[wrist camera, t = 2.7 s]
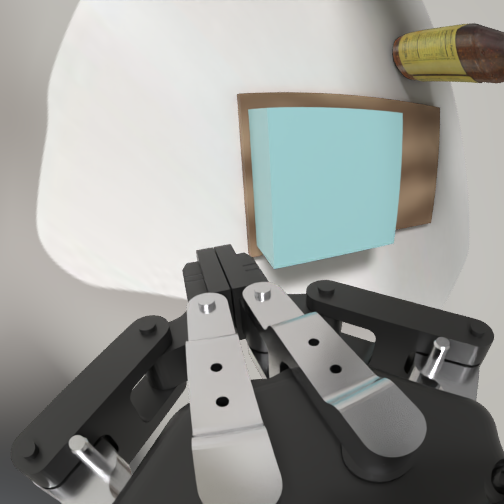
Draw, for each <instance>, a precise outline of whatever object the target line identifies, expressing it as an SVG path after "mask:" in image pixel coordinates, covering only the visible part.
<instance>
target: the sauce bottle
mask: <svg viewBox="0 0 504 504" xmlns="http://www.w3.org/2000/svg"><path fill="white" fill-rule="evenodd" d="M393 59H394V62H395V64H396V66H397V67H398V69H399V70H400V72H401V73H402V74H403V75H404V76H405V77H406V78H408V79H411V80H418V81H423V82H425V81H452V82H454V81H455V82H474V83H482V82H488V83H489V82H490V83H501V82H504V32H501V31H498V30H495V29H492V28H488V27H485V26H482V25H479V24H462V25H454V26H447V27H440V28H433V29H427V30H421V31H416V32H411V33H407V34H405V35H404V36H401V37H399V38H398V39H397V40H396V41H395V42H394V45H393Z"/></svg>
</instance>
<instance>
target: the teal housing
mask: <svg viewBox="0 0 504 504" xmlns="http://www.w3.org/2000/svg"><path fill="white" fill-rule="evenodd" d="M248 114H249V129H250V145H251V160H252V176H253V192H254V208H255V224H256V240H257V246H258V248H259V249H260V250H261V252H262V253H263V255H264V256H265V257H266V259H267V260H268V261H269V263H270V264H271V266H272V267H273V268H274V269H277V268H282V267H287V266H292V265H297V264H301V263H306V262H311V261H316V260H320V259H325V258H330V257H334V256H339V255H344V254H348V253H353V252H358V251H362V250H367V249H371V248H376V247H380V246H385V245H389V244H393V243H394V237H395V229H396V221H397V212H398V202H399V191H400V179H401V162H402V134H403V113H398V112H389V111H378V110H366V109H350V108H326V107H278V108H258V109H248Z"/></svg>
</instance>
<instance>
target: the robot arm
mask: <svg viewBox="0 0 504 504" xmlns="http://www.w3.org/2000/svg"><path fill="white" fill-rule="evenodd" d="M196 254H197V260H198V261H197V262H192V263H187V264H186V265H185V267H184V268H183V276H184V282H185V288H186V293H187V299H188V304H187V311H186V312H185V313H184V314H183V315H182V316H181V317H179V318H177V319H175V320H173V321H171V322H168V321H167V320H166V319H165V318H163V317H161V316H155V315H153V316H145V317H142V318H140V319H138V320H136V321H135V322H133V323H132V324H131V325H130V326H129V327H128V328H127V329H126V330H125V331H124V332H123V333H122V334H120V335H119V336H118V338H116V339H115V340H114V341H113V342H112V343H111V344H110V345H109V346H108V347H107V348H106V349H105V350H104V351H103V352H102V353H101V354H100V355H99V356H98V357H97V358H96V359H95V360H93V361H92V362H91V363H90V364H89V365H88V366H87V367H86V368H85V369H84V370H83V371H82V372H81V373H80V374H79V375H78V376H77V377H76V378H75V379H74V380H73V381H72V382H71V383H70V384H69V385H68V386H67V387H66V388H65V389H64V390H63V391H62V392H61V393H60V394H59V395H58V396H57V397H56V398H55V399H54V400H53V401H52V402H51V403H50V404H49V405H48V406H47V407H46V408H45V409H44V410H43V411H42V412H41V413H40V414H39V415H38V416H37V417H36V418H35V419H34V420H33V421H32V422H31V423H30V425H29V426H28V427H27V428H26V429H25V430H24V431H23V432H22V433H21V434H20V435H19V436H18V437H17V438H16V439H15V441H14V443H13V445H12V448H11V460H12V462H13V464H14V466H15V467H16V468H17V469H18V470H19V471H20V472H21V473H23V474H24V475H25V476H26V477H28V478H29V479H30V480H32V481H33V483H35V485H37V486H38V487H39V488H41V489H42V490H44V491H45V492H47V493H48V494H49V495H51V496H53V497H54V498H55V499H57V500H59V501H60V502H61V503H62V504H504V451H503V449H502V446H501V444H500V441H499V437H498V433H497V429H496V425H495V422H494V420H493V418H492V416H491V414H490V413H489V412H488V411H487V409H486V408H485V407H484V406H482V405H481V404H480V403H478V402H476V398H477V397H476V396H477V389H478V379H479V367H480V365H481V363H482V361H483V360H484V358H485V356H486V354H487V352H488V350H489V348H490V346H491V344H492V342H493V340H494V334H493V331H492V329H491V328H490V327H489V326H488V325H487V324H486V323H484V322H482V321H480V320H477V319H473V318H470V317H466V316H462V315H458V314H454V313H451V312H447V311H443V310H439V309H435V308H432V307H428V306H424V305H420V304H417V303H413V302H409V301H405V300H402V299H398V298H394V297H390V296H387V295H383V294H379V293H375V292H372V291H368V290H364V289H361V288H357V287H353V286H349V285H346V284H342V283H338V282H335V281H330V280H320V281H316V282H313V283H311V284H310V285H309V286H308V287H307V291H306V294H286V293H285V292H284V291H283V289H282V288H281V287H280V286H278V285H277V284H274V283H270V282H268V280H267V279H266V277H265V276H264V274H263V273H262V271H261V270H260V269H259V266H258V265H257V264H256V262H255V260H254V259H253V257H251V256H249V255H248V254H246V253H240V254H236V253H235V251H234V250H233V248H232V246H231V244H229V245H223V246H217V247H214V249H213V247H212V248H207V249H201V250H196ZM342 322H346V323H349V324H352V325H355V326H359V327H362V328H365V329H368V330H370V331H372V332H373V333H374V335H375V336H376V341H375V342H370V341H367V340H363V339H360V338H357V337H354V336H351V335H348V334H344V333H341V327H342ZM242 339H246V340H247V343H248V352H249V355H250V357H251V359H252V361H253V362H254V364H255V366H256V368H257V370H258V372H259V373H260V375H261V377H262V379H256V380H250V377H249V373H248V369H247V366H246V362H245V359H244V355H243V351H242V347H241V344H240V340H242ZM144 375H145V376H144ZM143 376H144V378H143V379H142V380H141V381H140V379H141V378H142V377H143ZM139 381H140V382H139ZM186 381H188V387H189V400H190V403H188V404H187V405H185V406H184V407H183V408H181V409H180V410H179V411H178V412H177V413H175V415H174V416H173V417H172V418H171V419H170V420H169V422H168V423H167V425H166V426H165V428H164V429H163V431H162V432H161V434H160V435H159V437H158V438H157V440H156V441H155V443H154V444H153V446H152V447H151V448H150V450H149V451H148V453H147V454H146V456H145V457H144V459H143V460H142V462H141V463H140V465H139V466H138V468H137V469H136V471H135V472H134V473H133V475H132V473H131V469H130V466H129V464H130V462H131V461H132V460H133V458H134V457H135V456H136V454H137V453H138V452H139V450H140V449H141V448H142V446H143V445H144V444H145V442H146V441H147V440H148V438H149V437H150V436H151V434H152V433H153V432H154V430H155V429H156V428H157V426H158V425H159V424H160V422H161V421H162V420H163V418H164V417H165V415H166V414H167V413H168V412H169V410H170V409H171V408H172V406H173V405H174V403H175V402H176V401H177V399H178V398H179V397H180V395H181V394H182V393H183V391H184V389H185V388H186ZM138 382H139V383H138ZM137 383H138V385H137V386H136V387H135V388H134V386H135V385H136V384H137ZM133 388H134V389H133ZM132 389H133V390H132Z"/></svg>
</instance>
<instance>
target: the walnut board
mask: <svg viewBox="0 0 504 504" xmlns="http://www.w3.org/2000/svg"><path fill="white" fill-rule="evenodd" d="M237 101H238V115H239V129H240V143H241V157H242V171H243V185H244V198H245V212H246V226H247V239H248V253H249V255H250V256H251V257H256V256H261V255H263V253H262V252H261V250H260V249H259V248H258V246H257V240H256V224H255V208H254V192H253V176H252V160H251V145H250V129H249V114H248V109H258V108H278V107H326V108H350V109H366V110H378V111H389V112H398V113H403V134H402V162H401V179H400V191H399V202H398V212H397V221H396V229H395V230H397V229H402V228H407V227H412V226H418V225H423V224H428V223H431V219H432V213H433V205H434V197H435V189H436V179H437V168H438V154H439V132H440V108H439V107H434V106H428V105H423V104H417V103H411V102H405V101H399V100H391V99H384V98H375V97H366V96H356V95H343V94H327V93H294V92H277V93H244V94H237Z"/></svg>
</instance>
